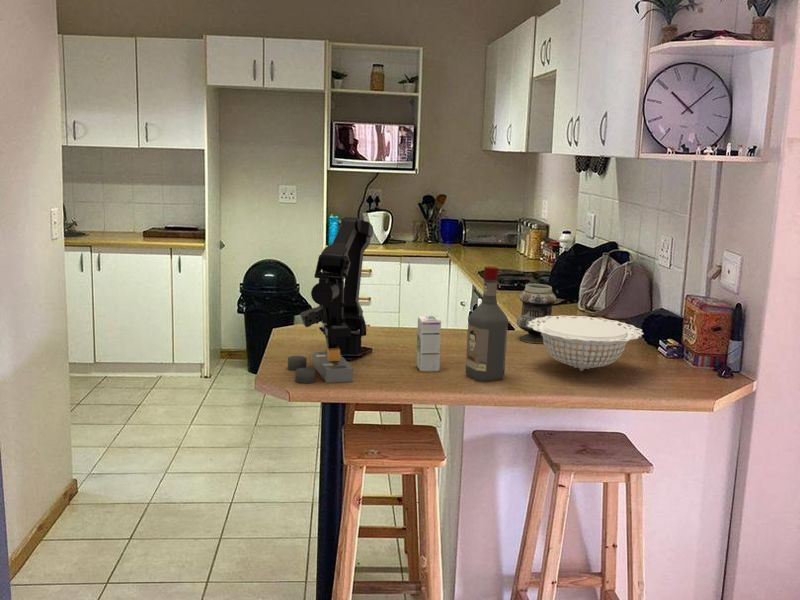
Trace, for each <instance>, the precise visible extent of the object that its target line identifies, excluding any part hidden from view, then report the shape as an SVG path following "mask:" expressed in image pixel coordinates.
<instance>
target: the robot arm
mask: <svg viewBox="0 0 800 600" xmlns="http://www.w3.org/2000/svg"><path fill="white" fill-rule="evenodd" d="M373 235H374V226H373V225H372V224H371V223H370V222H369V221H368V220H367V221H365V220H362V219H361V218H359V217H356V216H355V217H352V216H345V217H341V220H340V227H338V231H337V232H336V235H335V237H334V239H333V242H332V243H331V244H330V245H328V246H326V247H324V248H323V250H322V251H321V253H320V254H319V255H318V258H317V259H318V260H317V264H316V267H315V268H316V269H315V273H314V278H315V279H318V283H316V284H314V286H313V287H312V289H311V291H310V296H311V299H312V300H313V302H314V303H316V304H317V305H318V306H316V307H312V308H310V309H307V310H305V311H302V312H300V313H299V316H300V319H301V321H302V324H303V325H304V327H305V328H309V327H312V326H313V325H317V324H319V323H321V326H320V327H318V329H319V330H320V331H321V332H322V334H323V335H324V337H325V341H326V346H327V347H326V348H327V349H328V348H339V349H340V354H341V353H342V354H357V353H361V355H360V356H361V357H363V354H362V337H364V336H367V324H366V321H365V317H364V310H363V308H362V306H361V304H360V302H359V300H360V299H359V298H360V289H361V281H362V280H361V279H362V270H363V259H364V253H365V251H366V250H367V248H368V247H369V246H370V244H371V239H372V238H373Z"/></svg>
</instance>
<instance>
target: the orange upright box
mask: <svg viewBox="0 0 800 600" xmlns="http://www.w3.org/2000/svg"><path fill="white" fill-rule="evenodd" d="M326 351H327V360H328V361H340V349H339V348H328V347H327V350H326Z"/></svg>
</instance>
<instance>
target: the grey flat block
mask: <svg viewBox="0 0 800 600" xmlns="http://www.w3.org/2000/svg"><path fill="white" fill-rule="evenodd" d="M312 365H313V367H314V368H315V370H317V372H318V374H319V375H320V376H321V378H322V379H323V380H324V382H325V383H327V384H331V383H350V382H353V381H354V380H353V379H354V367H352V365H351V364H350V363H349V362H348V361H347V360H346V359H345V357H342V355H341V354H340V361H328V360H327V350H326V351H313V352H312Z"/></svg>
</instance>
